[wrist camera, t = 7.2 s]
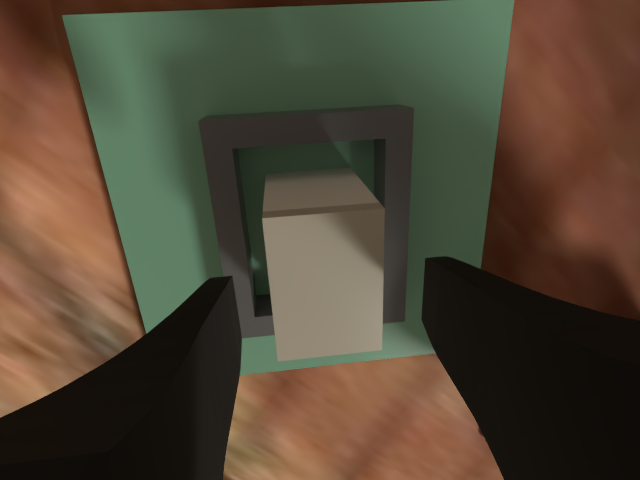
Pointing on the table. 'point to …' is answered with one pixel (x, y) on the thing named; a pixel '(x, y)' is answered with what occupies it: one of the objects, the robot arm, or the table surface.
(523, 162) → the table surface
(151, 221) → the board
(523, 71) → the table surface
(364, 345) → the plug
